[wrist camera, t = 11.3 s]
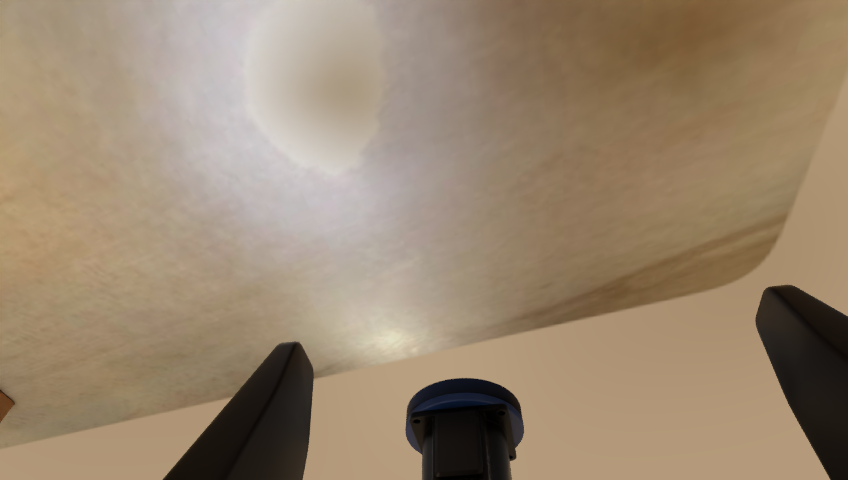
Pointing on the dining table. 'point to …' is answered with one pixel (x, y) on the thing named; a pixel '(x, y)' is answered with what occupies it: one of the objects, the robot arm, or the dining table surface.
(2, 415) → the stand
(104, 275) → the dining table surface
